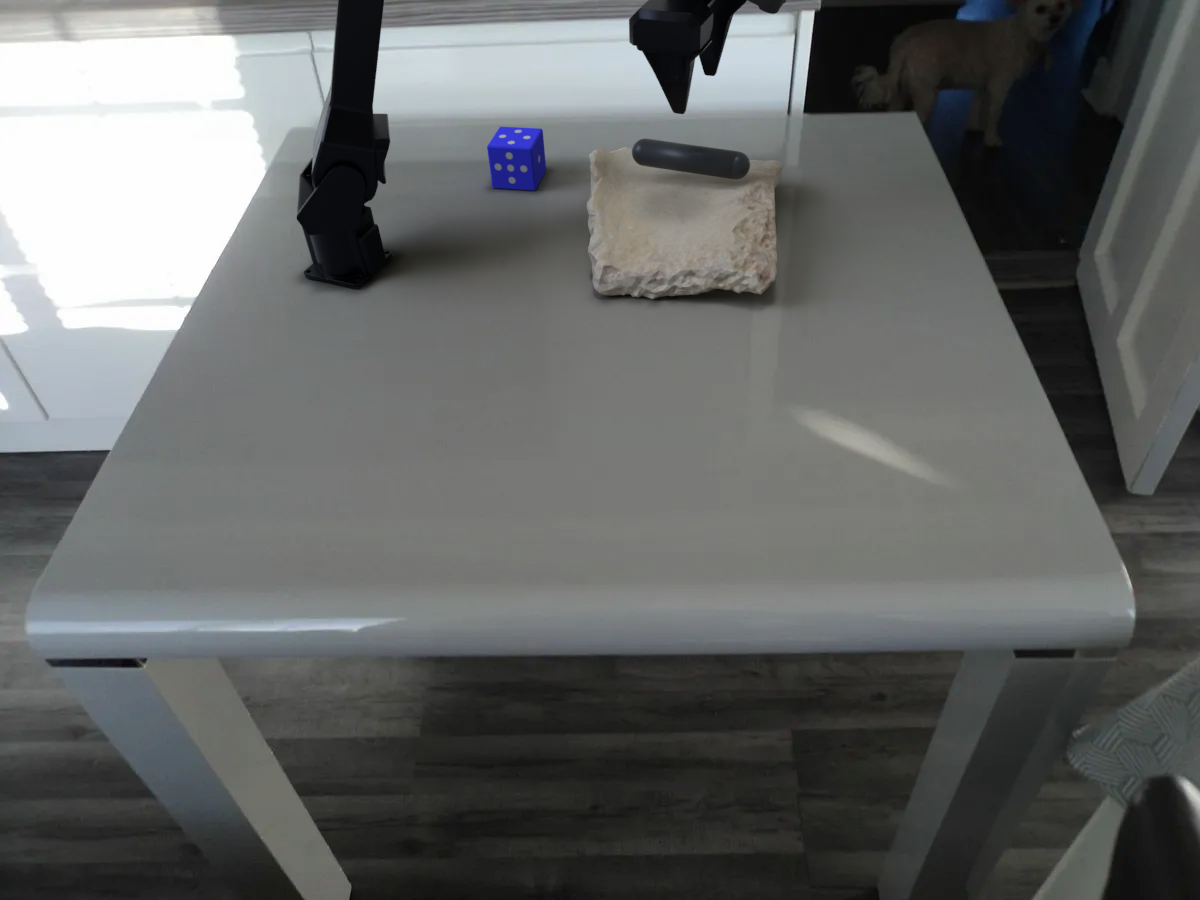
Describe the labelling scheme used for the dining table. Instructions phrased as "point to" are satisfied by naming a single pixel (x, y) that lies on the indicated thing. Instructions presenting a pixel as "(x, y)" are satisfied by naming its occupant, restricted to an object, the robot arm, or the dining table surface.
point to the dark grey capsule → (691, 158)
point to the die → (517, 158)
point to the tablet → (680, 228)
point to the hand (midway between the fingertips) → (695, 93)
